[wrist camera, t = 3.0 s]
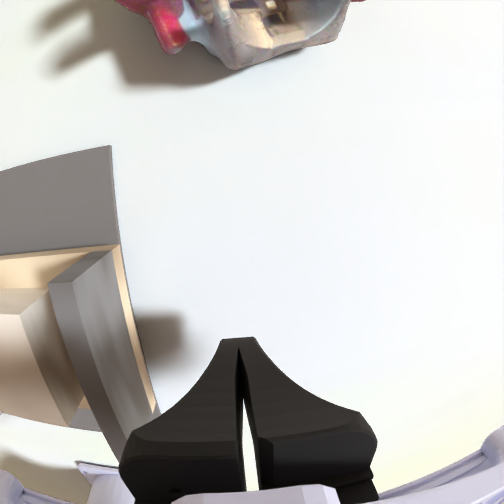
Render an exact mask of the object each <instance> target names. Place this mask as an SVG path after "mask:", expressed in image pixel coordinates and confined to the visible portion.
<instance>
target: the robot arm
mask: <svg viewBox="0 0 504 504" xmlns="http://www.w3.org/2000/svg"><path fill="white" fill-rule="evenodd" d="M243 399H244V404H245V408H246V413H247V417H248V422H249V426H250V430H251V435H252V439H253V445H254V451H255V460H256V468H257V476H258V484H259V491H248V492H247V489H246V480H245V470H244V459H243V448H242V429H243ZM376 448H377V439H376V436H375V434H374V432H373V430H372V428H371V427H370V425H369V424H368V423H367V421H366V420H365V419H364V417H363V416H362V415H361V414H360V412H357V411H354V410H350V409H347V408H344V407H341V406H338V405H335V404H333V403H330V402H328V401H325V400H323V399H321V398H319V397H317V396H315V395H314V394H312V393H310V392H308V391H306V390H305V389H303V388H302V387H300V386H299V385H298V384H296V383H295V382H294V381H292V380H291V379H290V378H289V377H287V376H286V375H285V374H284V373H283V372H282V371H281V370H280V369H279V368H278V367H277V366H276V365H275V364H274V363H273V362H272V361H271V359H270V358H269V357H268V356H267V355H266V353H265V352H264V351H263V349H262V348H261V347H260V345H259V344H258V342H257V340H256V339H255V338H254V337H243V338H230V339H222V340H221V341H220V343H219V346H218V349H217V351H216V353H215V355H214V357H213V358H212V360H211V362H210V364H209V365H208V367H207V369H206V370H205V371H204V373H203V374H202V376H201V377H200V379H199V380H198V381H197V382H196V384H195V385H194V386H193V387H192V388H191V389H190V391H189V392H188V393H187V394H186V395H185V396H184V397H183V398H182V399H181V400H180V401H178V402H177V403H176V404H175V405H174V406H173V407H171V408H170V409H169V410H167V411H166V412H165V413H163V414H162V415H160V416H159V417H157V418H155V419H154V420H152V421H150V422H148V423H146V424H145V425H143V426H141V427H139V428H137V429H135V430H132V432H131V434H130V436H129V438H128V440H127V442H126V444H125V447H124V449H123V453H122V456H121V460H120V464H119V469H115V468H108V467H102V466H95V465H90V464H84V463H79V464H78V468H79V470H80V471H81V473H82V474H83V475H84V477H85V478H86V479H87V481H88V482H89V483H90V485H91V486H92V488H91V491H90V494H89V498H88V501H87V504H502V503H503V502H504V425H503V426H502V427H500V428H498V429H497V430H495V431H493V432H492V433H491V434H490V435H489V436H488V437H487V438H486V439H485V441H484V442H483V444H482V446H481V449H479V450H477V451H476V452H474V453H472V454H470V455H468V456H467V457H465V458H463V459H461V460H459V461H457V462H455V463H453V464H451V465H449V466H447V467H445V468H443V469H440V470H438V471H436V472H434V473H432V474H429V475H427V476H425V477H422V478H420V479H417V480H415V481H413V482H410V483H407V484H405V485H402V486H399V487H397V488H394V489H391V490H388V491H385V492H382V493H379V494H378V493H377V491H376V489H375V486H374V484H373V482H372V480H371V479H373V473H372V471H371V468H370V465H371V462H372V459H373V457H374V454H375V451H376ZM0 504H75V503H71V502H67V501H64V500H60V499H57V498H54V497H50V496H47V495H44V494H41V493H38V492H35V491H33V490H30V489H27V488H25V487H24V486H23V485H22V483H21V482H20V481H19V480H18V479H17V478H16V477H15V476H14V475H12V474H11V473H9V472H7V471H4V470H2V469H0Z"/></svg>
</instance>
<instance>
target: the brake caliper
mask: <svg viewBox="0 0 504 504" xmlns="http://www.w3.org/2000/svg"><path fill="white" fill-rule="evenodd" d="M115 1H116V2H118V3H120V4H121V5H123V6H125V7H127V8H128V9H129V10H130V11H133V12H135V13H138V14H140V15H142V16H144V17H146V18H147V19H148V20H149V21H150V23H151V24H152V26H153V29H154V31H155V34H156V37H157V39H158V41H159V43H160V45H161V47H162V49H163V50H164V51H165V53H167V54H176V53H178V52H179V51H181V50H182V49H183V47H185V45H186V44H187V43H188V42H189V41H196V42H199V43H201V44H202V45H204V47H205V48H206V49H207V51H208V52H209V53H210V54H211V55H213V56H215V57H218V58H219V59H220V60H221V61H222V63H223V64H224V65H225V66H226V67H227V68H229V69H232V70H238V69H242V68H246V67H249V66H252V65H255V64H258V63H262V62H264V61H266V60H269V59H271V58H273V57H275V56H277V55H280V54H282V53H285V52H288V51H291V50H295V49H299V48H305V47H311V46H317V45H321V44H326V43H329V42H332V41H334V40H336V39H337V37H338V34H339V32H340V30H341V28H342V25H343V22H344V20H345V16H346V12H347V9H348V6H349V4H350V2H362V1H365V0H115Z"/></svg>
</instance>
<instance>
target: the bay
mask: <svg viewBox="0 0 504 504" xmlns="http://www.w3.org/2000/svg"><path fill="white" fill-rule="evenodd" d="M115 244H120V250H121V256H122V263H123V269H124V274H125V280H126V285H127V290H128V295H129V300H130V305H131V310H132V315H133V319H134V324H135V328H136V332H137V336H138V340H139V344H140V348H141V352H142V356H143V360H144V364H145V367H146V371H147V374H148V370H147V366H146V363H145V359H144V355H143V351H142V347H141V343H140V339H139V335H138V331H137V327H136V322H135V318H134V313H133V309H132V304H131V299H130V294H129V289H128V283H127V278H126V272H125V266H124V260H123V254H122V248H121V241H120V234H119V226H118V218H117V210H116V200H115V190H114V179H113V165H112V148H111V146H110V145H108V146H103V147H97V148H92V149H87V150H82V151H77V152H73V153H68V154H64V155H59V156H55V157H51V158H47V159H43V160H39V161H35V162H31V163H28V164H24V165H21V166H17V167H14V168H10V169H7V170H4V171H0V256H3V255H12V254H22V253H31V252H41V251H51V250H61V249H72V248H82V247H93V246H104V245H115ZM148 378H149V381H150V377H149V374H148ZM150 385H151V388H152V391H153V387H152V384H151V381H150ZM153 395H154V398H155V401H156V397H155V394H154V391H153ZM1 413H2V412H0V414H1ZM160 415H161V413H160V410H159V407H158V404H157V401H156V403H155V407H154V411H153V416H152V420H154V419H155V418H157V417H159V416H160ZM152 420H151V421H152ZM69 427H70V428H77V429H83V430H90V431H98V432H102V431H101V429H100V427H99V425H98V423H97V421H96V419H95V417H94V414H93V412H92V410H90V409H81V408H78V409H77V411H76V413H75V415H74V417H73V419H72V421H71V423H70V425H69Z"/></svg>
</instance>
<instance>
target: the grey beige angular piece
mask: <svg viewBox="0 0 504 504" xmlns="http://www.w3.org/2000/svg"><path fill="white" fill-rule="evenodd" d="M155 403H156V401H155V398H154V395H153V391H152V388H151V385H150V381H149V378H148V374H147V371H146V367H145V364H144V360H143V356H142V352H141V348H140V344H139V340H138V336H137V332H136V328H135V324H134V319H133V315H132V310H131V305H130V300H129V295H128V290H127V285H126V280H125V274H124V269H123V263H122V256H121V250H120V244H115V245H104V246H93V247H82V248H72V249H61V250H51V251H41V252H31V253H22V254H12V255H3V256H0V412H3V413H7V414H10V415H14V416H18V417H22V418H26V419H30V420H34V421H38V422H43V423H48V424H53V425H58V426H63V427H69V425H70V423H71V421H72V419H73V417H74V415H75V413H76V411H77V409H78V408H81V409H90V410H92V412H93V414H94V417H95V419H96V421H97V423H98V425H99V427H100V429H101V431H102V433H103V435H104V436H105V438H106V440H107V442H108V444H109V446H110V448H111V449H112V451H113V453H114V455H115V457H116V458H117V460H118V462H119V463H120V460H121V456H122V453H123V449H124V447H125V444H126V442H127V440H128V438H129V436H130V434H131V432H132V430H135V429H137V428H139V427H141V426H143V425H145V424H146V423H148V422H150V421H151V420H152V416H153V411H154V407H155Z"/></svg>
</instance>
